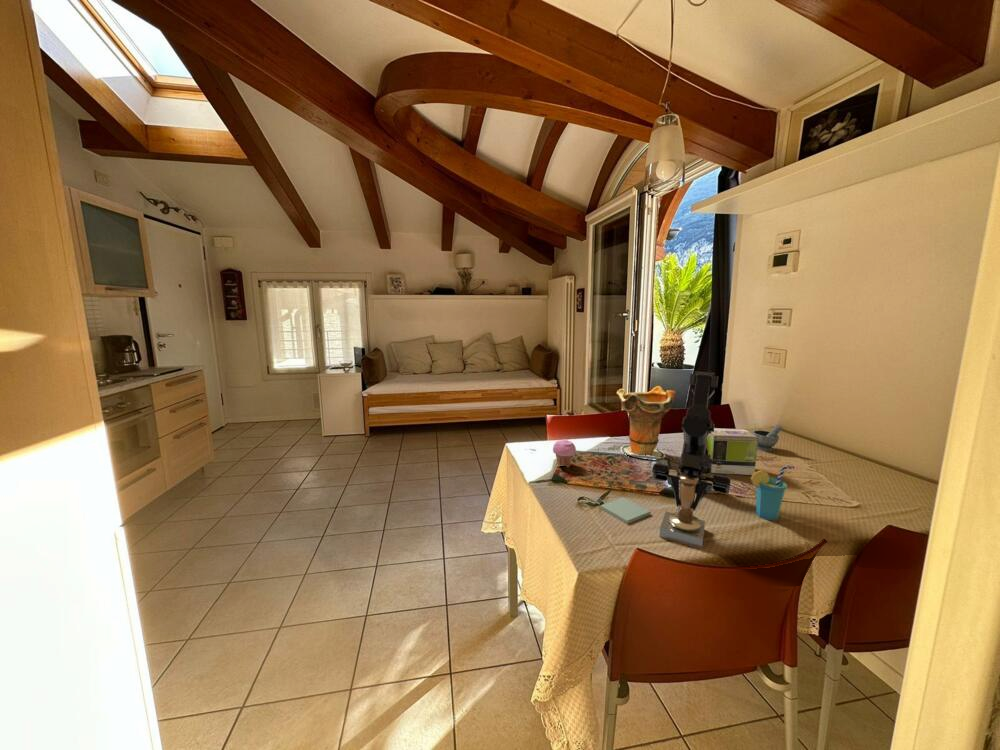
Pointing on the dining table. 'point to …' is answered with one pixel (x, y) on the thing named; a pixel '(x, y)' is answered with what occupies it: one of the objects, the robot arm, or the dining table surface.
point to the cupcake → (564, 452)
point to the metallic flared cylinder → (686, 505)
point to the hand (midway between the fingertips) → (685, 508)
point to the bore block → (681, 533)
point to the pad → (625, 510)
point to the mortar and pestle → (767, 438)
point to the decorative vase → (645, 419)
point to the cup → (769, 493)
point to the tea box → (732, 451)
